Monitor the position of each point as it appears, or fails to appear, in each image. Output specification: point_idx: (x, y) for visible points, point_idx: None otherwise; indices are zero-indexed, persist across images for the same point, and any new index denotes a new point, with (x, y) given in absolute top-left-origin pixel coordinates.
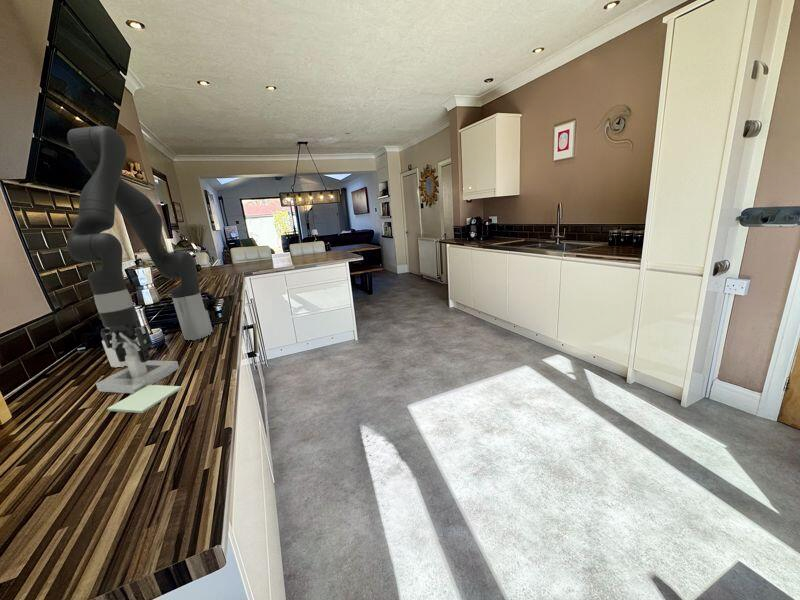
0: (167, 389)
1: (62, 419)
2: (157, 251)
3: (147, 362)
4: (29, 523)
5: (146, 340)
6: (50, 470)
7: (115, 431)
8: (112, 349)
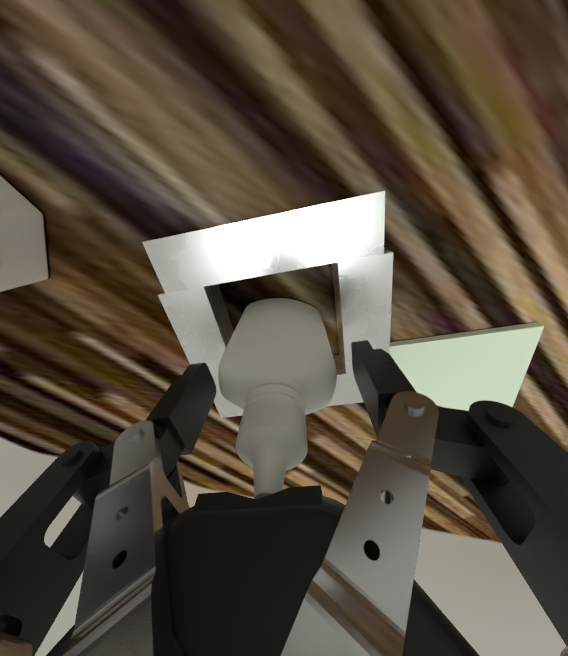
0: (497, 351)
1: (305, 465)
2: None
3: (202, 258)
4: None
5: (507, 472)
6: (461, 513)
7: None
8: None
